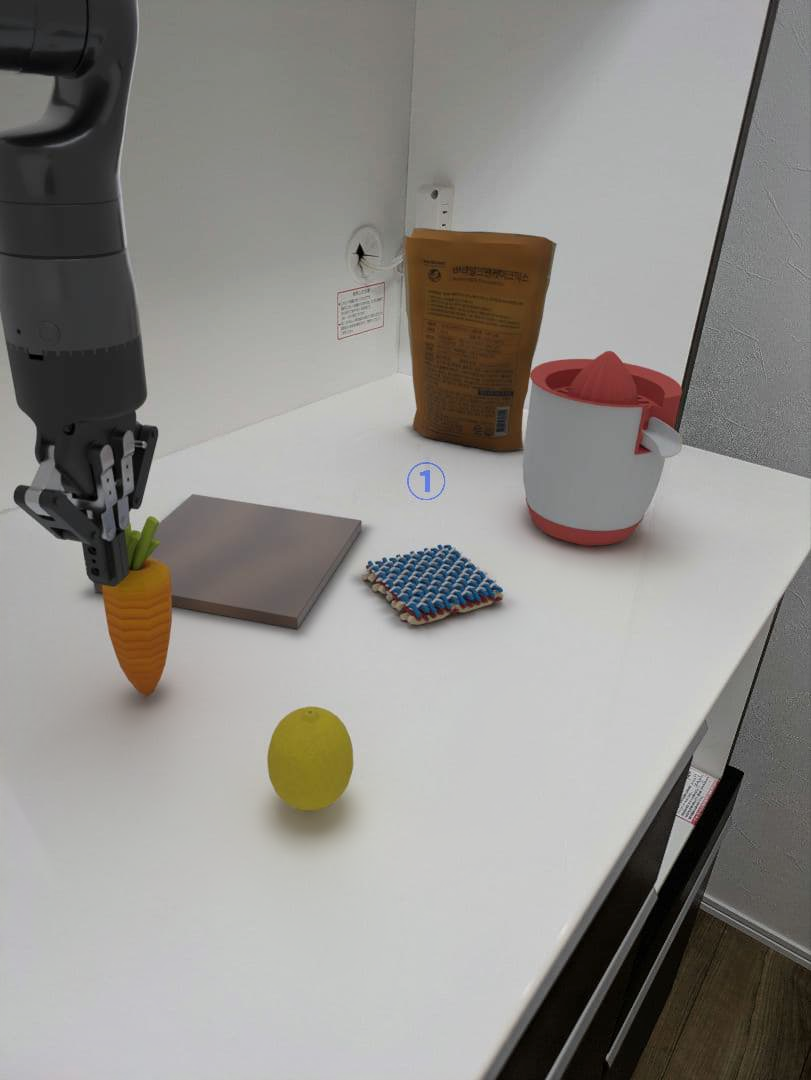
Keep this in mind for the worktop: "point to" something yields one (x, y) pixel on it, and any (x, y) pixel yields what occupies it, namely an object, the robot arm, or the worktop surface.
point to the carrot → (141, 611)
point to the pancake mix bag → (474, 331)
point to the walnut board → (250, 558)
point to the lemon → (310, 758)
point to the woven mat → (432, 584)
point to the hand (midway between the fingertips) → (109, 579)
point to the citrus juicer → (596, 446)
